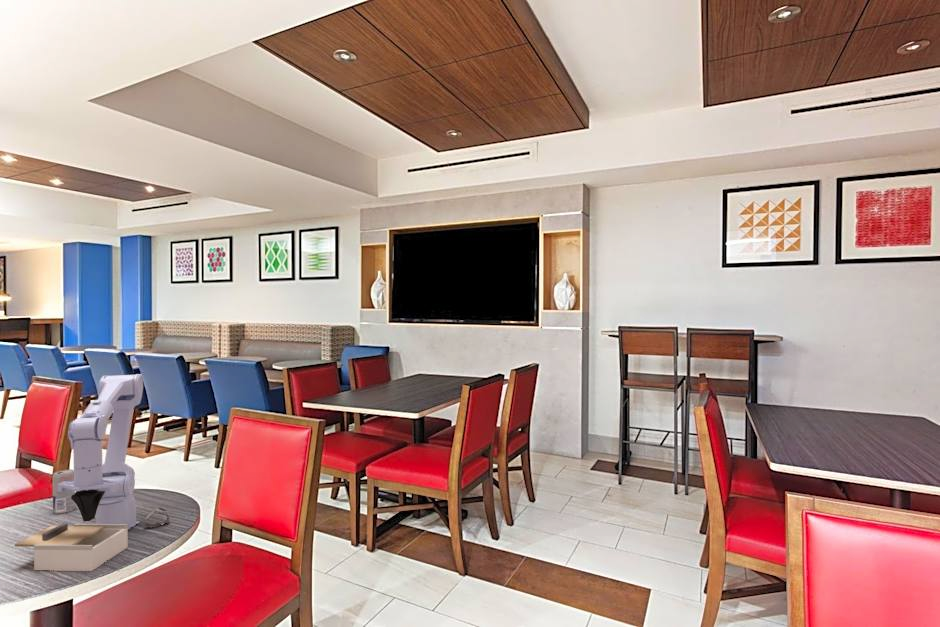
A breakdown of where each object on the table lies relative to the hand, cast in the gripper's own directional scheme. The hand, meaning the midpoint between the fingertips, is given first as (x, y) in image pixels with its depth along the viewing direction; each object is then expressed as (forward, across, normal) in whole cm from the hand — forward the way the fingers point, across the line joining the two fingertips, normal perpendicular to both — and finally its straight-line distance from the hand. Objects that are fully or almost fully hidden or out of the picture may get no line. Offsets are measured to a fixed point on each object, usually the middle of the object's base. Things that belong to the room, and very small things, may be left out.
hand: (89, 519), depth 126 cm
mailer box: (+9, -1, -1) cm, 9 cm away
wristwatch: (+10, +4, +18) cm, 21 cm away
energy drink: (+10, -32, +28) cm, 43 cm away
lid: (+4, -7, -1) cm, 8 cm away
